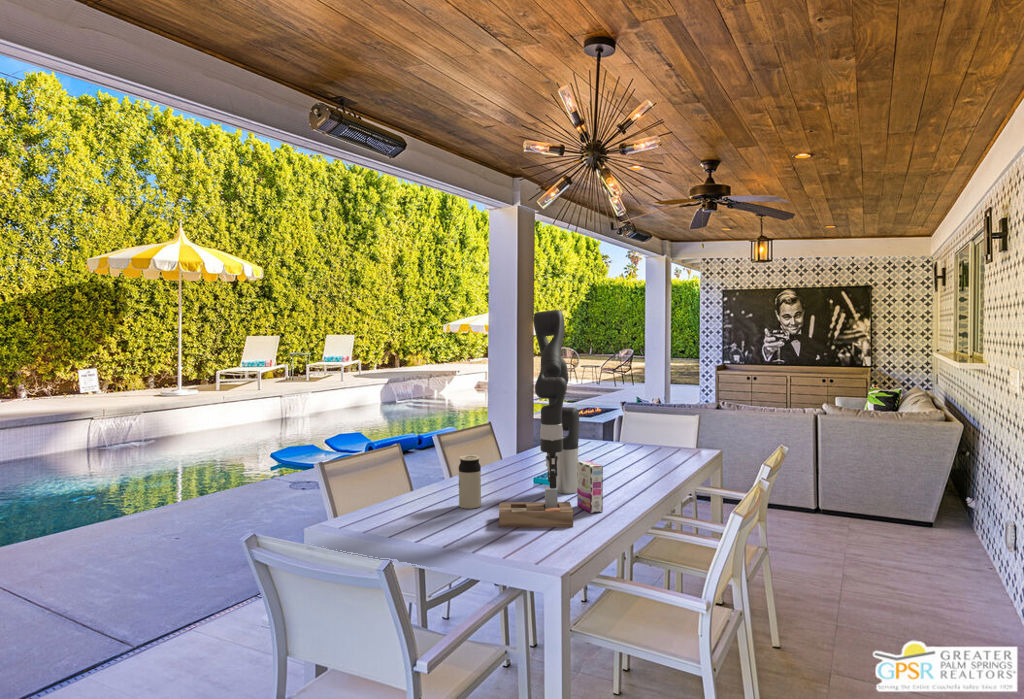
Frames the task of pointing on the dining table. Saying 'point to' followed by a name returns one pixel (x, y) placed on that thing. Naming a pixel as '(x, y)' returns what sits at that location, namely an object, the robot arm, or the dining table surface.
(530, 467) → the dining table surface
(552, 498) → the plug
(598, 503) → the candy bar box
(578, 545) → the dining table surface
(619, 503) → the dining table surface
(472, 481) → the travel mug
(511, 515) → the socket block
